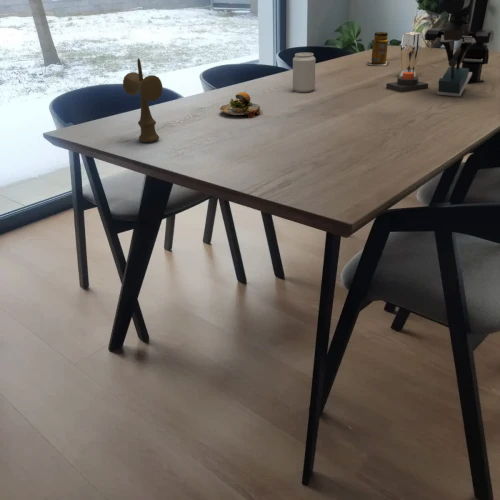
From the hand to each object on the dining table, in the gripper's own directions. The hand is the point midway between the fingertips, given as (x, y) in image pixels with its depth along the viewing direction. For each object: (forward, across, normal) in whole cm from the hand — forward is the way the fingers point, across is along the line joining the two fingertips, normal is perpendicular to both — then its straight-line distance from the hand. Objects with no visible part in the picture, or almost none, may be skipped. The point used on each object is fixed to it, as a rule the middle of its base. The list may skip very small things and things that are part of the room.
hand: (454, 65), depth 159 cm
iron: (+7, 0, +4) cm, 8 cm away
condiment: (+11, -42, +43) cm, 61 cm away
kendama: (+7, -52, -82) cm, 97 cm away
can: (+9, -45, -15) cm, 48 cm away
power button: (+6, -15, +3) cm, 17 cm away
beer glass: (+10, -22, +22) cm, 32 cm away
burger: (+8, -46, -49) cm, 68 cm away
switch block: (+9, -15, +3) cm, 18 cm away
